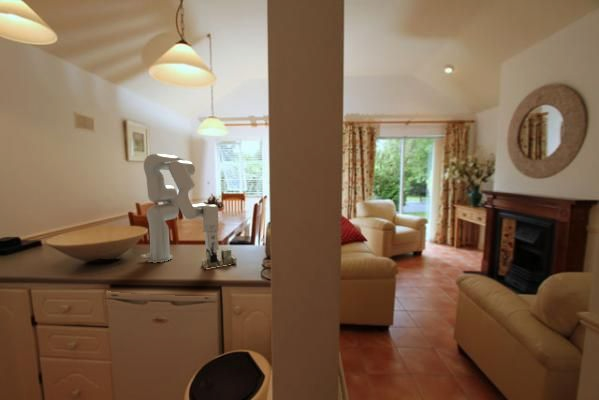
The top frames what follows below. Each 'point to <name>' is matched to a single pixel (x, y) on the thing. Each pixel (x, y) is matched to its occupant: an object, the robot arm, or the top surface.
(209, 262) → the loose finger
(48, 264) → the top surface
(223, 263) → the rail board
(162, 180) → the robot arm
